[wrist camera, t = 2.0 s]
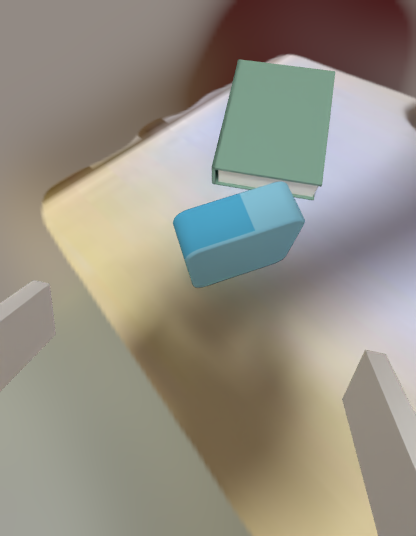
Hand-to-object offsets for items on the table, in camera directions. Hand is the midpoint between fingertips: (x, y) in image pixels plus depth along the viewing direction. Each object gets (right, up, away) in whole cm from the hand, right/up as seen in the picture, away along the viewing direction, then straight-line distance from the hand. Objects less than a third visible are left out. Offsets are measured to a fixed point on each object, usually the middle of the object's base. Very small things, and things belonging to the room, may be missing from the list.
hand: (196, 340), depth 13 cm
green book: (+10, +22, +33) cm, 41 cm away
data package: (+4, +4, +27) cm, 28 cm away
